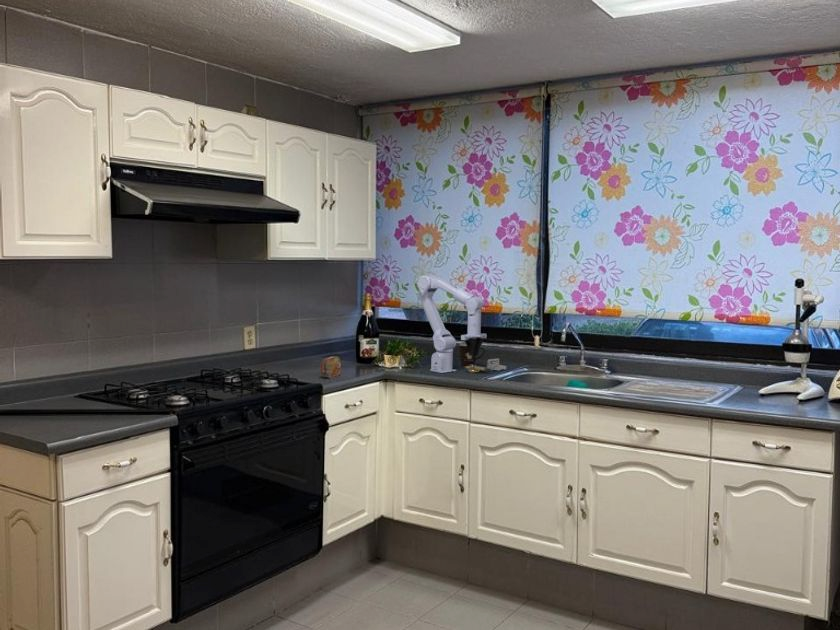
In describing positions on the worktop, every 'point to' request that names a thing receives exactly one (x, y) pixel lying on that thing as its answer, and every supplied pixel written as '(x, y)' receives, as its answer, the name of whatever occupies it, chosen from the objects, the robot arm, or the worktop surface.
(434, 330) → the robot arm
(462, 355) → the coffee mug
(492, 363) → the stand
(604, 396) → the worktop surface
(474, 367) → the cam
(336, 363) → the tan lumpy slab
